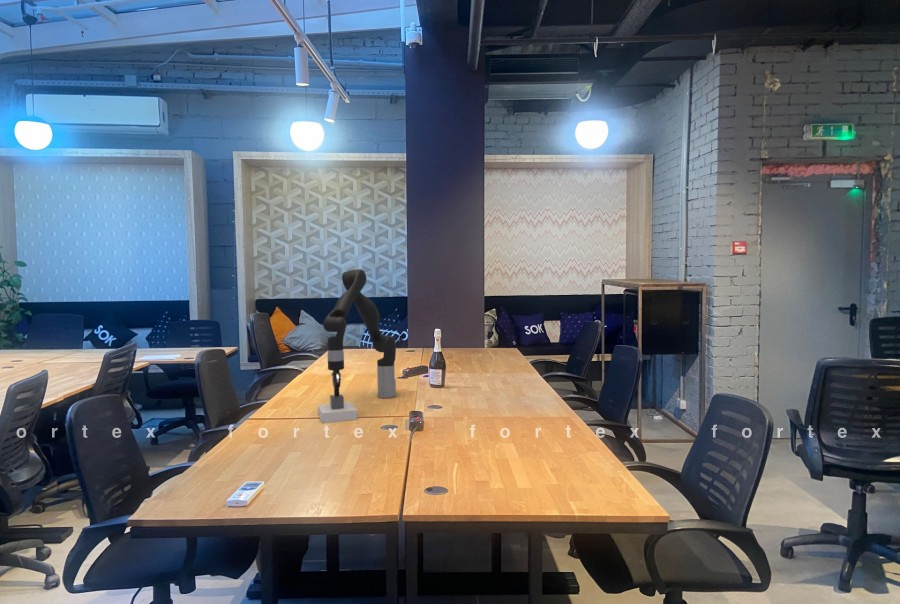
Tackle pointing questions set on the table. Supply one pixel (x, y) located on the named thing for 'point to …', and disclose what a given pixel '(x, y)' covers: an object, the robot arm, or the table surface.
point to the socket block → (337, 413)
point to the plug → (337, 401)
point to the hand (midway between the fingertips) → (336, 395)
